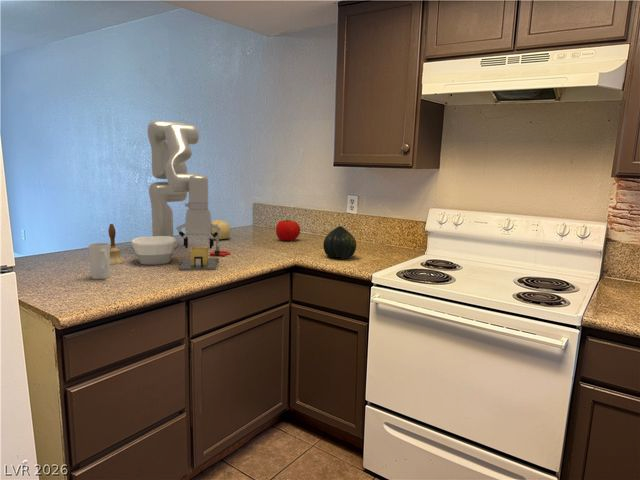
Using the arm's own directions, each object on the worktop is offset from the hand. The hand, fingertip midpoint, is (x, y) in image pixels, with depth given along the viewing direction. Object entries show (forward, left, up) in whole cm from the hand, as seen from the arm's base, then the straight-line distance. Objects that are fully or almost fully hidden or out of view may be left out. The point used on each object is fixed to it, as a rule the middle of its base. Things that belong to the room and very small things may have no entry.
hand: (198, 247), depth 184 cm
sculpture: (+4, +60, -7) cm, 61 cm away
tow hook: (+7, +20, -7) cm, 23 cm away
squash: (+61, +12, -7) cm, 63 cm away
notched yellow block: (0, -1, -6) cm, 6 cm away
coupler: (0, -1, -7) cm, 7 cm away
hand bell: (-35, +5, -7) cm, 36 cm away
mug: (-32, -20, -7) cm, 38 cm away
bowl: (-19, +6, -7) cm, 21 cm away
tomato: (+41, +56, -7) cm, 70 cm away
